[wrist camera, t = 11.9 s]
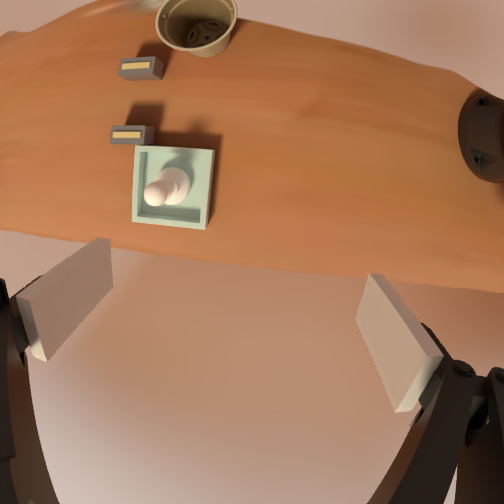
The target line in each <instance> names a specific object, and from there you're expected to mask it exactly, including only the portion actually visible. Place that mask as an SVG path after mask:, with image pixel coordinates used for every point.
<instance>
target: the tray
mask: <svg viewBox="0 0 504 504" xmlns="http://www.w3.org/2000/svg"><path fill="white" fill-rule="evenodd" d="M214 158H215V150H212V149H200V148H187V147H170V146H148V145H138V146H135V158H134V174H133V196H132V222H140V223H149V224H158V225H167V226H176V227H185V228H194V229H202V230H205V229H206V227H207V226H208V219H209V208H210V197H211V187H212V177H213V167H214ZM170 167H177V168H180V169H182V170H183V171H185V172H186V174H187V175H188V177H189V179H190V183H191V188H190V192H189V194H188V195H187V197H186V198H185V199H184V200H182V201H181V202H179V203H177V204H173V205H169V204H165V203H163V204H162V205H160V206H151V205H149V204H148V203H147V202H146V201H145V199H144V190H145V188H146V186H147V185H148V184H150V183H152V182H154V179H155V177H156V175H157V174H158V173H159V172H160V171H162V170H164V169H166V168H170Z"/></svg>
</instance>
